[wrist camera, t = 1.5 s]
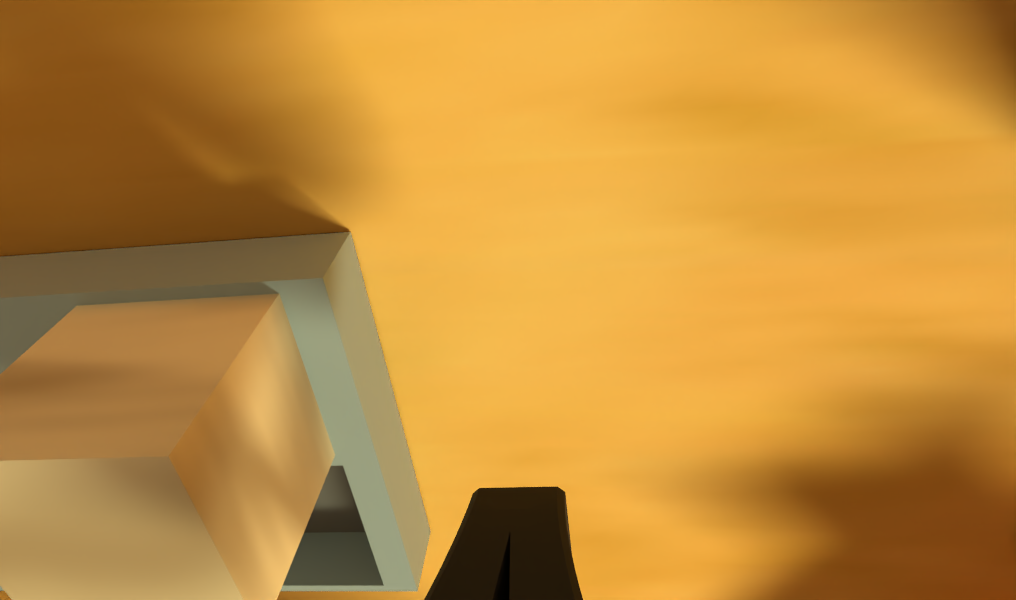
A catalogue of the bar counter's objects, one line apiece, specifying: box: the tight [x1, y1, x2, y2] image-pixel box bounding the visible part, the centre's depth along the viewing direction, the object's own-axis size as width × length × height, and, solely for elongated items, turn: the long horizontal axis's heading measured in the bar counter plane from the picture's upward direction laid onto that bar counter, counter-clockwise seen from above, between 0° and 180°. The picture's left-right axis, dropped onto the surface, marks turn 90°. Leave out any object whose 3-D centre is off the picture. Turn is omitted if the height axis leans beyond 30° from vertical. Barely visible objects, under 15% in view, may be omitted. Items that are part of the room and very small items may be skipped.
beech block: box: [0, 294, 335, 600], centre depth 13 cm, size 4×4×4 cm
